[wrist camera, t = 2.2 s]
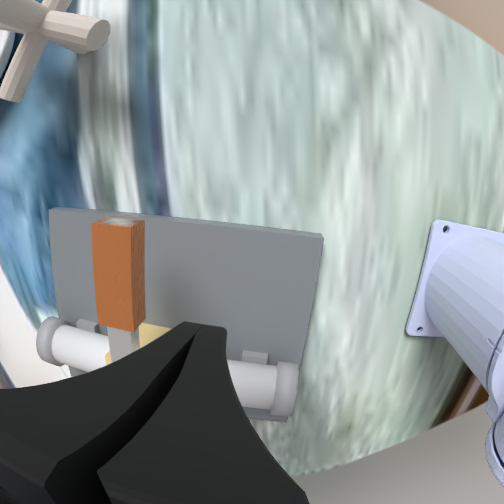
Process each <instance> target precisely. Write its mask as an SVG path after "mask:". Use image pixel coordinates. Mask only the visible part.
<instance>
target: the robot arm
mask: <svg viewBox="0 0 504 504" xmlns="http://www.w3.org/2000/svg"><path fill="white" fill-rule="evenodd" d="M444 226H447V230H446V231H445V232H443V228H444ZM418 327H421V328H420V330H418V331H417V328H418ZM406 332H407V333H408V334H409V335H411V336H433V337H445V338H446V339H447V341H448V342H449V343H450V344H451V346H452V347H453V348H454V349H455V351H456V352H457V353H458V354H459V356H460V357H461V358H462V359H463V361H464V362H465V363H466V364H467V366H468V367H469V368H470V370H471V371H472V372H473V374H474V375H475V376H476V378H477V379H478V380H479V381H480V383H481V384H482V386H483V387H484V388H485V390H486V391H487V392H488V394H489V399H488V402H487V404H486V406H485V411H486V412H487V414H488V415H489V417H490V418H491V420H492V421H493V423H494V424H493V425H492V427H491V428H490V430H489V432H488V434H487V437H486V442H485V452H486V458H487V461H488V464H489V467H490V468H491V470H492V472H493V474H494V476H495V477H496V478H497V480H498V481H499V482H500V483H501V485H502V486H503V487H504V233H500V232H496V231H491V230H487V229H482V228H478V227H473V226H468V225H464V224H459V223H454V222H449V221H444V220H435V221H434V222H433V223H432V226H431V230H430V235H429V240H428V245H427V250H426V254H425V259H424V263H423V267H422V271H421V275H420V279H419V283H418V287H417V291H416V295H415V298H414V302H413V305H412V309H411V312H410V315H409V319H408V322H407V325H406ZM226 342H227V330H226V329H225V328H224V327H219V326H212V325H205V324H199V323H193V322H187V321H184V322H182V323H180V324H179V325H177V326H176V327H174V328H173V329H171V330H169V331H168V332H166V333H165V334H163V335H162V336H160V337H158V338H157V339H155V340H154V341H152V342H150V343H149V344H147V345H145V346H144V347H142V348H140V349H138V350H136V351H134V352H132V353H131V354H129V355H127V356H125V357H123V358H121V359H119V360H117V361H115V362H113V363H111V364H108V365H106V366H104V367H101V368H98V369H96V370H93V371H91V372H88V373H85V374H82V375H78V376H75V377H71V378H67V379H64V380H60V381H57V382H52V383H47V384H42V385H37V386H30V387H23V388H13V389H0V504H309V502H308V499H307V496H306V494H305V492H304V491H303V490H302V489H301V488H300V487H299V486H298V485H297V484H296V483H295V481H294V480H293V479H292V478H291V477H290V476H289V475H288V474H287V473H286V472H285V471H284V469H283V468H282V467H281V466H280V465H279V464H278V462H277V461H276V460H275V458H274V457H273V456H272V455H271V453H270V452H269V451H268V449H267V448H266V447H265V445H264V443H263V442H262V440H261V439H260V437H259V436H258V434H257V433H256V431H255V429H254V428H253V426H252V425H251V423H250V421H249V419H248V417H247V415H246V413H245V411H244V409H243V407H242V405H241V403H240V401H239V398H238V396H237V393H236V390H235V388H234V385H233V382H232V378H231V375H230V371H229V367H228V362H227V357H226Z"/></svg>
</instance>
